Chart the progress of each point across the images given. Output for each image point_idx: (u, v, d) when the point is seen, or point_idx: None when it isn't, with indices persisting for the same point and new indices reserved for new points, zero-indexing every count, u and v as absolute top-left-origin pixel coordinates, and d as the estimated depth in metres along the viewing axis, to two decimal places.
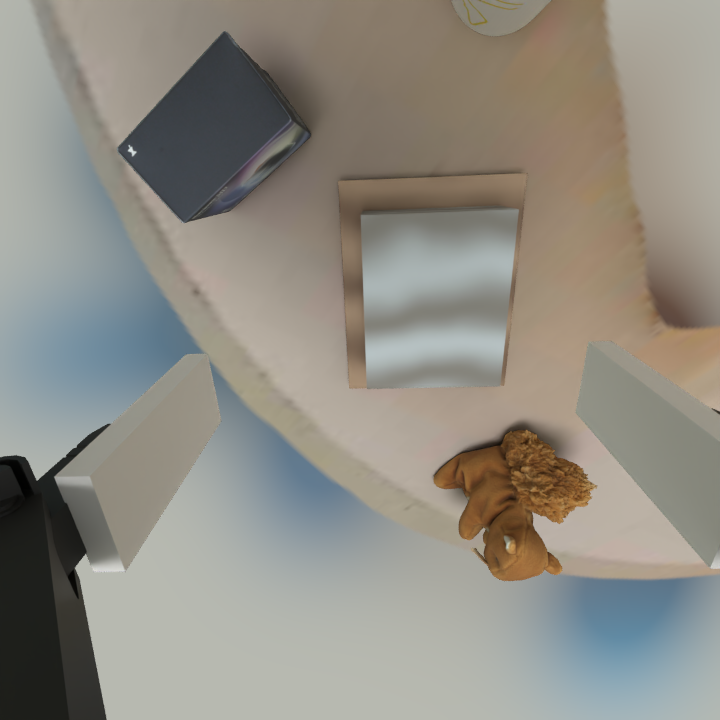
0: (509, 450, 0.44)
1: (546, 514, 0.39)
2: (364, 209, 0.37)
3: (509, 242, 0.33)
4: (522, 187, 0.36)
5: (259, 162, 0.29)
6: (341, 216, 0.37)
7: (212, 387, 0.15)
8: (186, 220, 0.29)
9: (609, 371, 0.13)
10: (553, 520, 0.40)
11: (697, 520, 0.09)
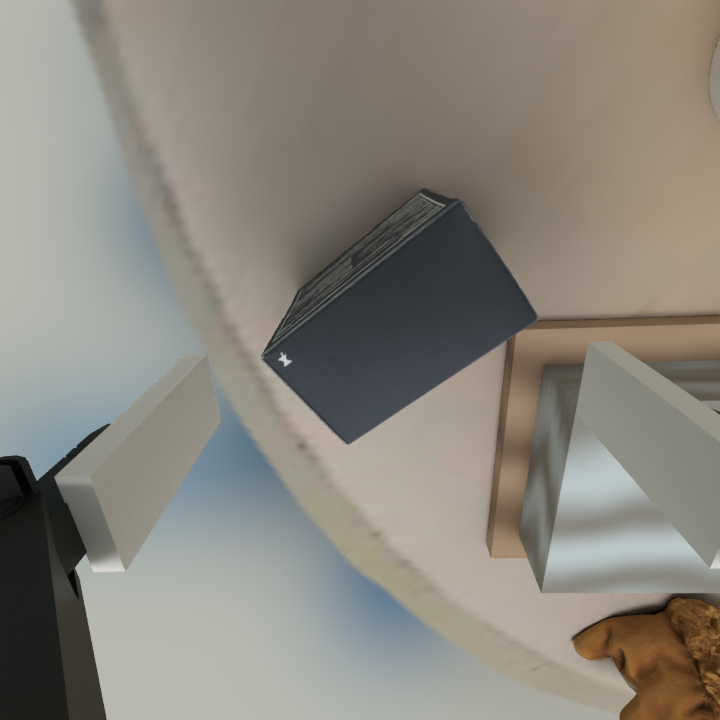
0: (691, 635, 0.34)
1: None
2: (546, 363, 0.27)
3: None
4: None
5: None
6: (513, 371, 0.27)
7: (212, 387, 0.15)
8: (351, 441, 0.20)
9: (609, 371, 0.13)
10: None
11: (697, 520, 0.09)
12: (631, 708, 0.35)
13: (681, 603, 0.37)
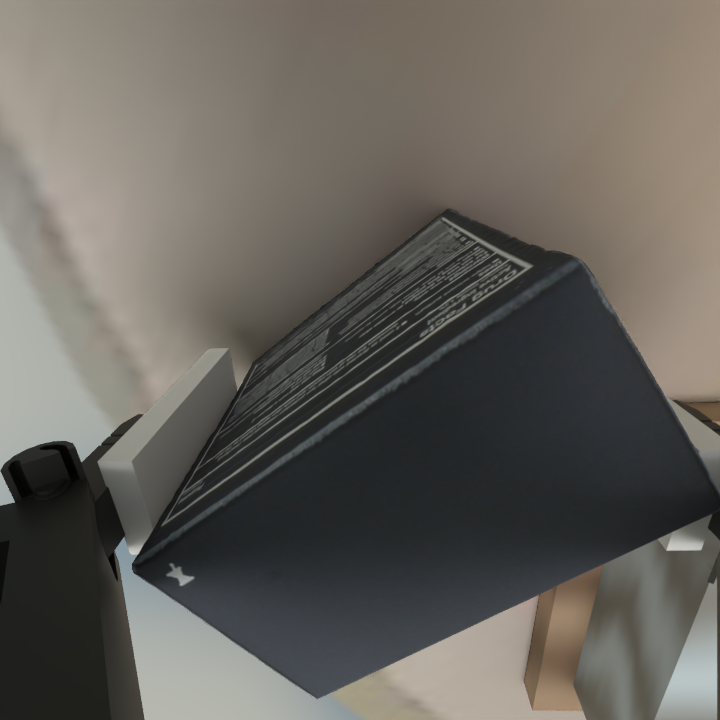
0: None
1: None
2: None
3: None
4: None
5: None
6: None
7: (233, 381, 0.15)
8: (325, 694, 0.10)
9: None
10: None
11: None
12: None
13: None
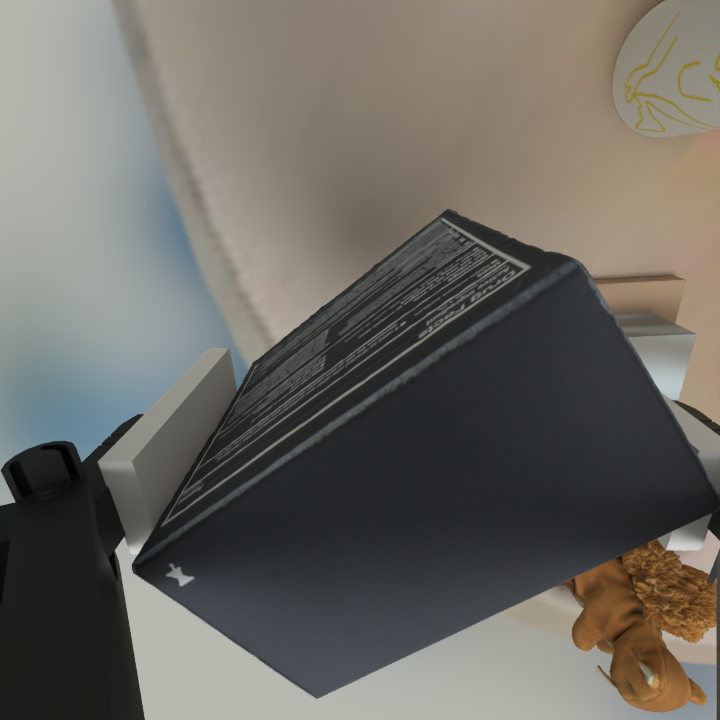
0: (627, 555, 0.41)
1: (683, 636, 0.36)
2: None
3: (680, 366, 0.29)
4: (678, 294, 0.32)
5: None
6: None
7: (233, 381, 0.15)
8: (324, 694, 0.10)
9: None
10: (690, 641, 0.37)
11: None
12: (579, 620, 0.41)
13: None
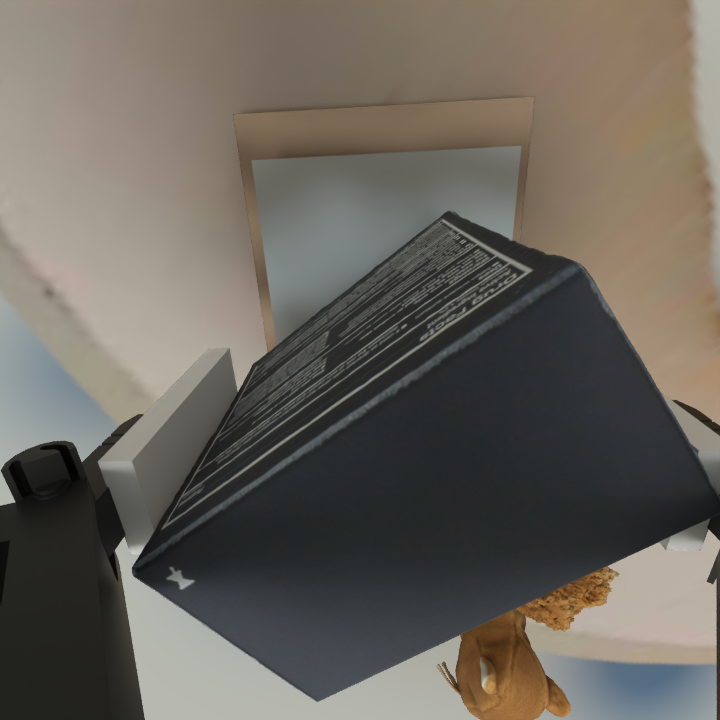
0: None
1: (543, 621, 0.26)
2: None
3: (505, 205, 0.19)
4: (526, 121, 0.22)
5: None
6: (243, 173, 0.24)
7: (233, 380, 0.15)
8: (325, 697, 0.10)
9: None
10: (555, 628, 0.27)
11: None
12: None
13: None
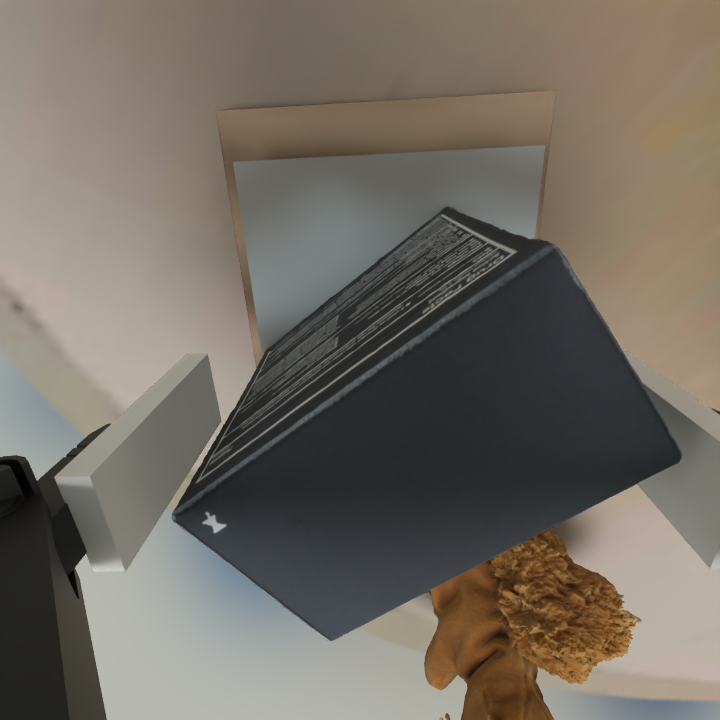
0: None
1: (558, 674, 0.24)
2: None
3: (525, 213, 0.17)
4: (546, 118, 0.20)
5: None
6: (228, 176, 0.21)
7: (212, 387, 0.15)
8: (338, 637, 0.12)
9: None
10: (570, 681, 0.24)
11: (697, 520, 0.09)
12: (431, 645, 0.29)
13: None
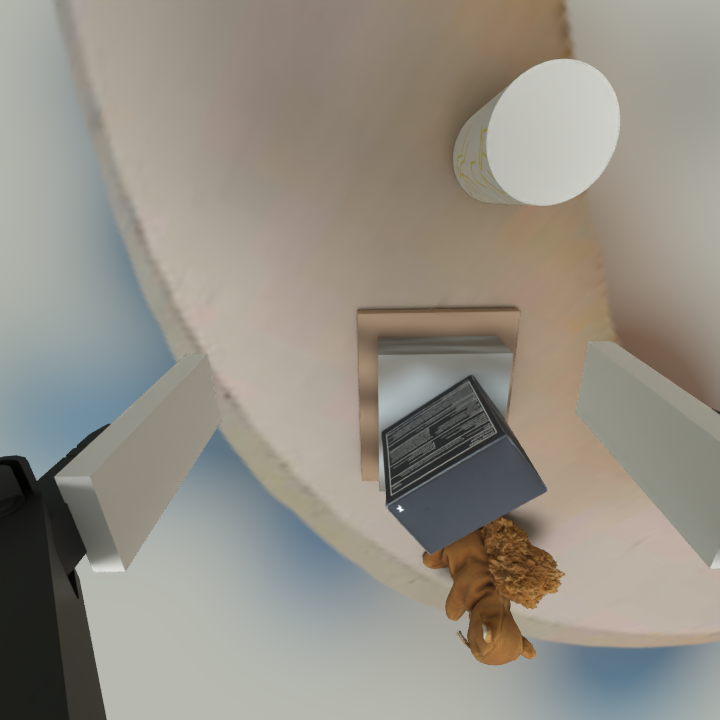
0: (487, 538, 0.49)
1: (520, 602, 0.44)
2: (379, 336, 0.42)
3: (505, 378, 0.38)
4: (516, 322, 0.41)
5: None
6: (359, 341, 0.42)
7: (212, 387, 0.15)
8: (433, 552, 0.32)
9: (609, 370, 0.13)
10: (527, 607, 0.44)
11: (697, 520, 0.09)
12: (449, 594, 0.49)
13: None
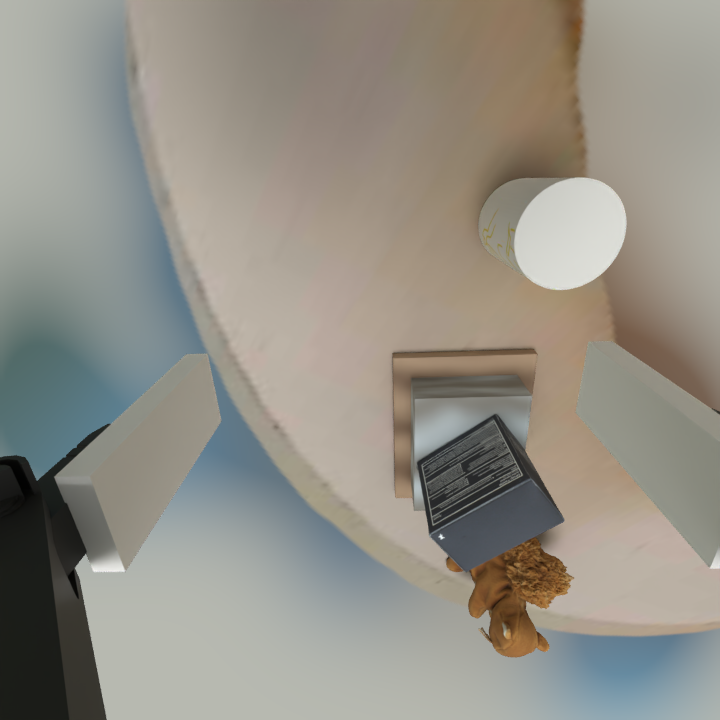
0: None
1: (534, 603, 0.51)
2: (412, 377, 0.48)
3: (525, 416, 0.44)
4: (533, 363, 0.47)
5: None
6: (394, 381, 0.48)
7: (212, 387, 0.15)
8: (468, 570, 0.39)
9: (609, 371, 0.13)
10: (540, 607, 0.51)
11: (697, 520, 0.09)
12: (472, 595, 0.56)
13: None
